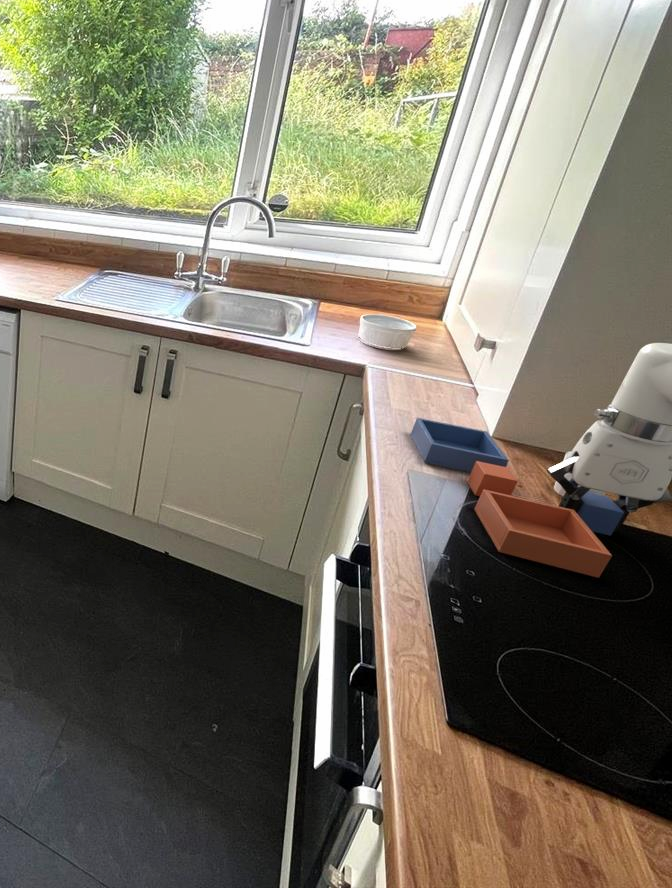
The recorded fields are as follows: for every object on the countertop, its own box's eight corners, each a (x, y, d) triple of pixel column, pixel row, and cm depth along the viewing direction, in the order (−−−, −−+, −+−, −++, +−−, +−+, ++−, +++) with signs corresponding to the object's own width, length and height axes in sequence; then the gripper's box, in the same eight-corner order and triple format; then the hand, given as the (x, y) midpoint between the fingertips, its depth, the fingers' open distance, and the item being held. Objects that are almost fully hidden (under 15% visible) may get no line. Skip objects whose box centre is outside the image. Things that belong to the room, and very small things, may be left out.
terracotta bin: (599, 578, 83) (612, 555, 82) (498, 552, 88) (509, 530, 86) (562, 530, 93) (574, 509, 91) (473, 509, 97) (483, 489, 96)
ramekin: (348, 342, 169) (355, 319, 166) (361, 332, 177) (368, 310, 174) (402, 356, 160) (410, 332, 157) (413, 345, 168) (421, 322, 166)
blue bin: (500, 479, 106) (509, 460, 104) (424, 462, 110) (431, 443, 109) (479, 449, 115) (487, 431, 114) (410, 434, 120) (416, 417, 118)
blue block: (610, 535, 92) (624, 512, 90) (573, 527, 94) (586, 504, 92) (596, 519, 96) (609, 497, 94) (560, 511, 97) (572, 489, 96)
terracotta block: (507, 503, 99) (518, 481, 97) (474, 495, 101) (484, 473, 99) (498, 488, 103) (508, 467, 101) (466, 481, 105) (476, 460, 103)
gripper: (579, 421, 88) (529, 518, 95) (738, 450, 81) (671, 552, 88) (556, 401, 94) (511, 493, 101) (702, 426, 87) (643, 523, 94)
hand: (586, 520), depth 95 cm, fingers closed on blue block, 4 cm apart
